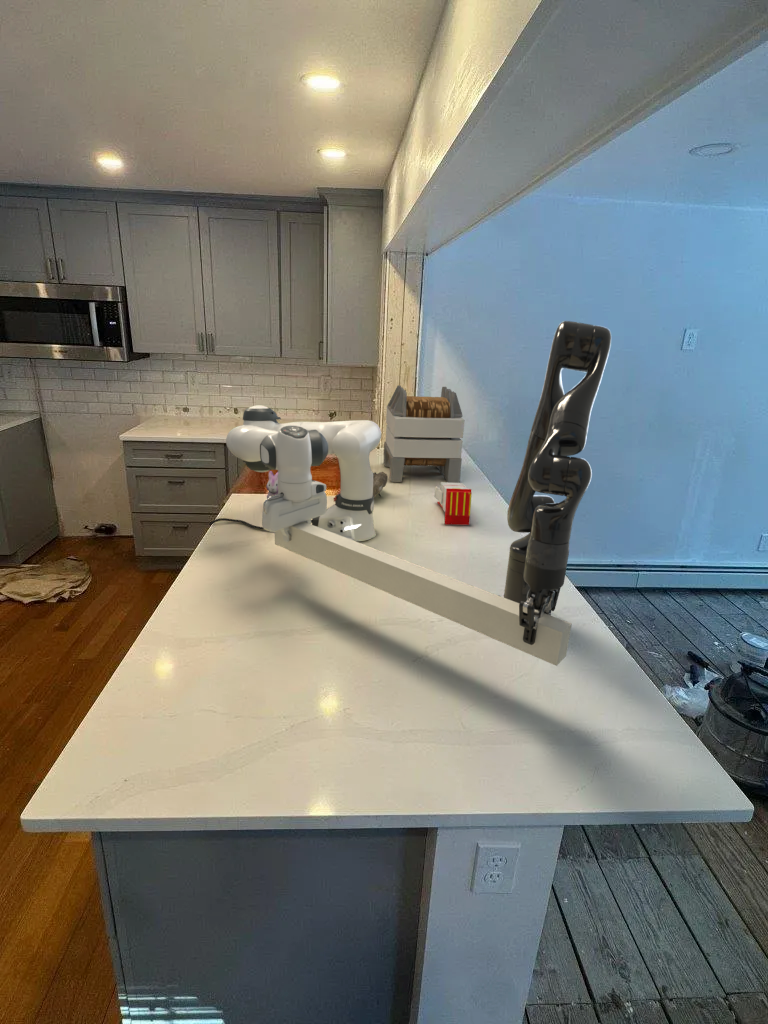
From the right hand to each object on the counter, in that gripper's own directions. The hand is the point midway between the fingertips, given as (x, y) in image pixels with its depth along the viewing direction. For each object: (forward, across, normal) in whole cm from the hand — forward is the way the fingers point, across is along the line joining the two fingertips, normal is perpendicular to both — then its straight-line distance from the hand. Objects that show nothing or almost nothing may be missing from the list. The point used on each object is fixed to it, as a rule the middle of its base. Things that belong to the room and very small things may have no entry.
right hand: (534, 637), depth 112 cm
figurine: (+16, +38, +124) cm, 131 cm away
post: (+3, 0, +35) cm, 35 cm away
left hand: (0, 0, +70) cm, 70 cm away
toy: (+16, +84, +74) cm, 113 cm away
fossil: (+16, +77, +109) cm, 134 cm away
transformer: (+17, +121, +117) cm, 169 cm away
